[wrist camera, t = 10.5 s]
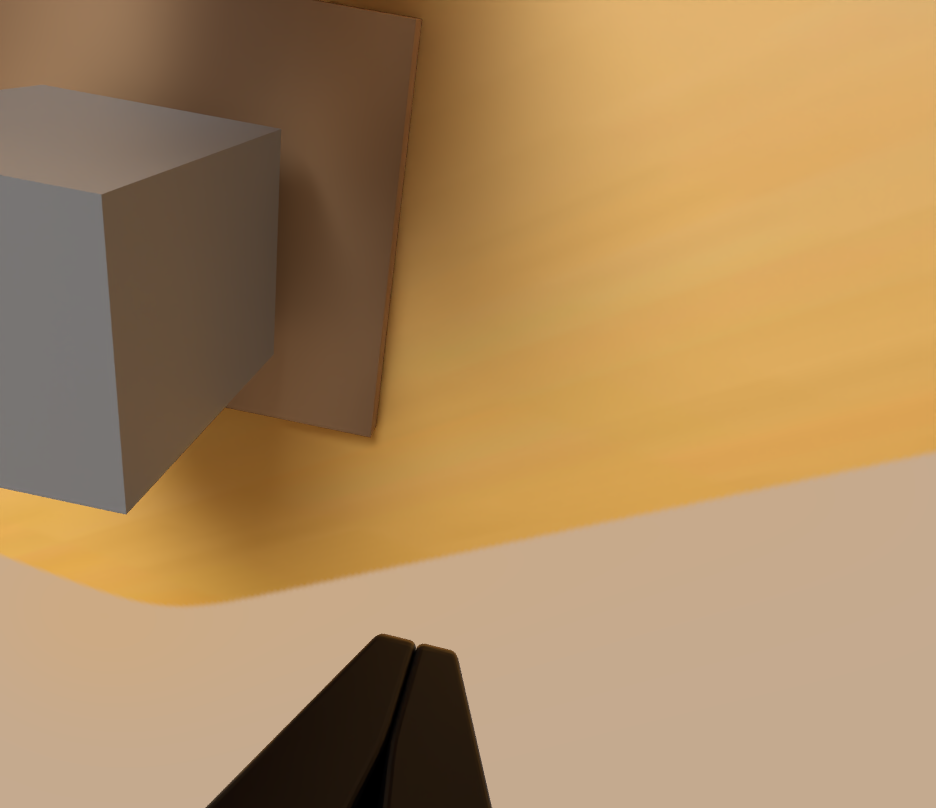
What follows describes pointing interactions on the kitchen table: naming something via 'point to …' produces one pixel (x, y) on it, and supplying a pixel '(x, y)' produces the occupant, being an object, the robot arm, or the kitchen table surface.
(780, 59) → the kitchen table surface
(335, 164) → the brown flat panel
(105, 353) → the grey rectangular block
